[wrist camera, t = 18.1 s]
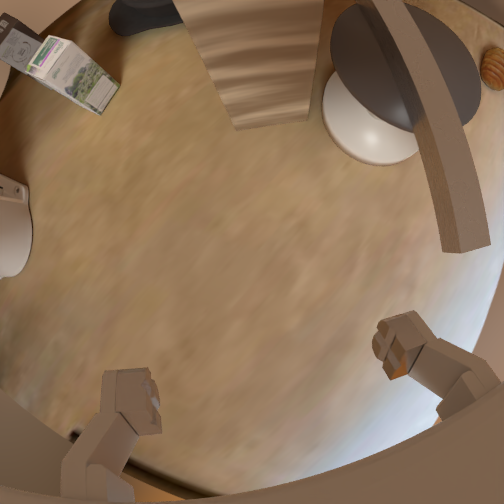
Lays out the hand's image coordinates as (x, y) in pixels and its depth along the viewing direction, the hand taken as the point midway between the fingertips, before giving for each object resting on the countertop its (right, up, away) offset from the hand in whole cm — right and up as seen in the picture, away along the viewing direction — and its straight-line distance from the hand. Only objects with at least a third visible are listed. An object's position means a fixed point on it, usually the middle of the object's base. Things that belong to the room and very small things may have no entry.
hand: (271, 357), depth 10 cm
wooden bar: (+13, +16, +11) cm, 23 cm away
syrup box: (-24, +27, +30) cm, 47 cm away
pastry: (+40, +33, +23) cm, 57 cm away
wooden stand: (+1, +27, +27) cm, 38 cm away
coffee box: (-37, +37, +31) cm, 61 cm away
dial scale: (+15, +21, +26) cm, 37 cm away
